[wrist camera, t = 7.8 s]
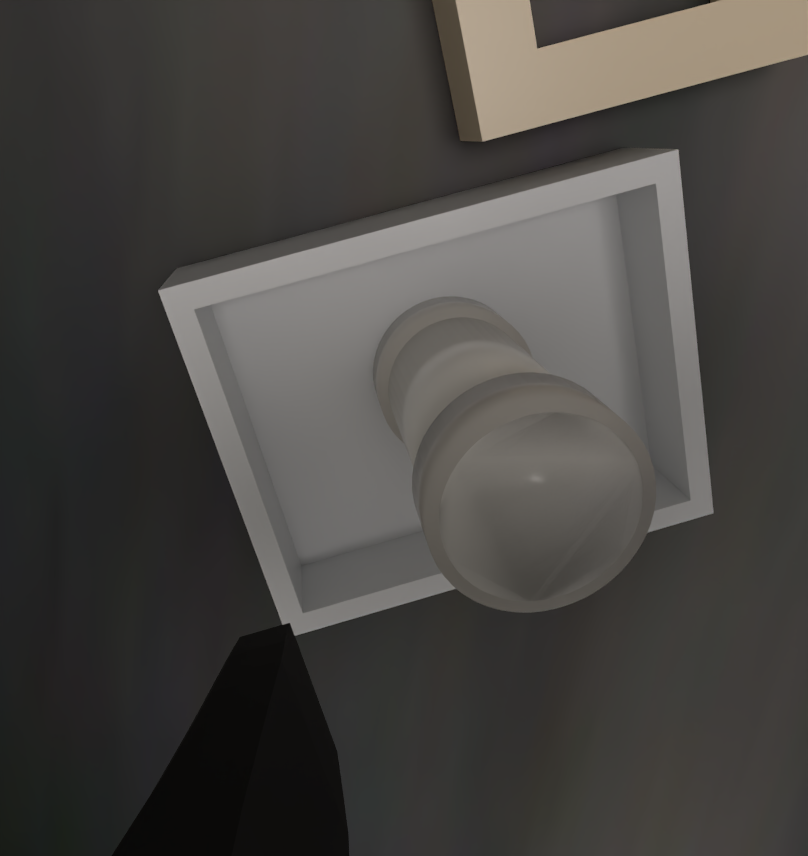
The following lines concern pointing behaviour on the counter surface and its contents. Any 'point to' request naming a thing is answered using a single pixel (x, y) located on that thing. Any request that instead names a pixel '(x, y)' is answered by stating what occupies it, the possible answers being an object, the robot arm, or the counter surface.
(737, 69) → the socket block
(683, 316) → the tray
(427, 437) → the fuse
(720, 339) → the counter surface
